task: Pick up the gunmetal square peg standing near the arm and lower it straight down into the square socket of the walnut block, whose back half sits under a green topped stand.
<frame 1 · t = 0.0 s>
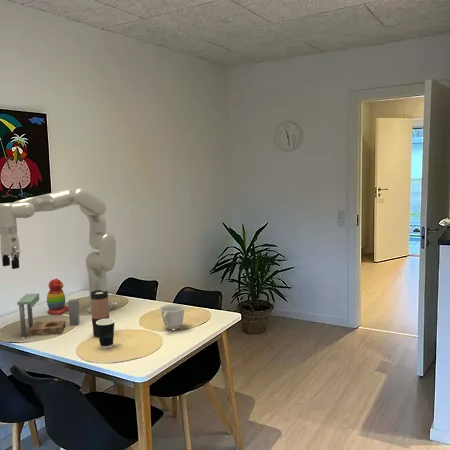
hand: (11, 267, 215), 31 cm above the table, tool pointing down, fingers open, 9 cm apart
dixie cup: (106, 346, 199), on the table
socket block: (52, 330, 220), on the table
peg: (74, 324, 229), on the table
rainbow stacking rings: (57, 312, 250), on the table
travel mug: (101, 335, 214), on the table
teacup: (172, 329, 219), on the table
green topped stand: (32, 332, 219), on the table
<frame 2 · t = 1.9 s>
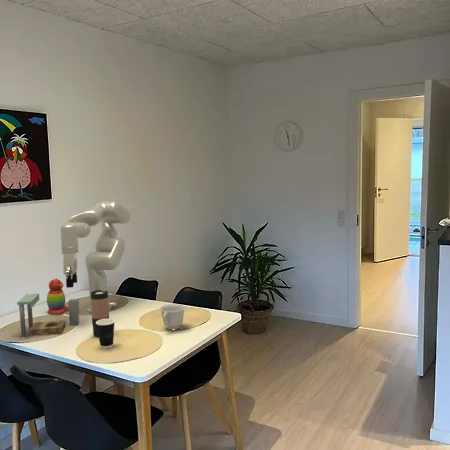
hand: (71, 284, 227), 20 cm above the table, tool pointing down, fingers open, 9 cm apart
nothing on the table moved.
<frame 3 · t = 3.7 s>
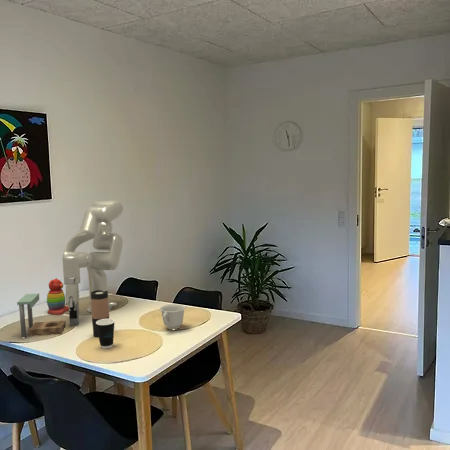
hand: (74, 316, 229), 4 cm above the table, tool pointing down, fingers closed on peg, 4 cm apart
peg: (74, 324, 229), on the table, touching gripper
everything else where it was.
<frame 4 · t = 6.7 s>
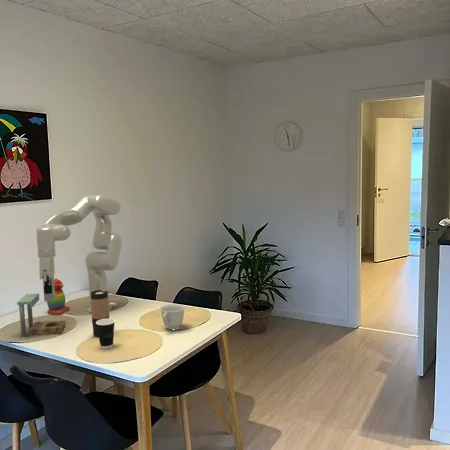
hand: (49, 291, 218), 19 cm above the table, tool pointing down, fingers closed on peg, 4 cm apart
peg: (49, 299, 218), point 15 cm above the table, touching gripper
everything else where it was.
when the fingers open (4 cm above the table, at t = 9.6 s): peg stays where it is, resting in socket block.
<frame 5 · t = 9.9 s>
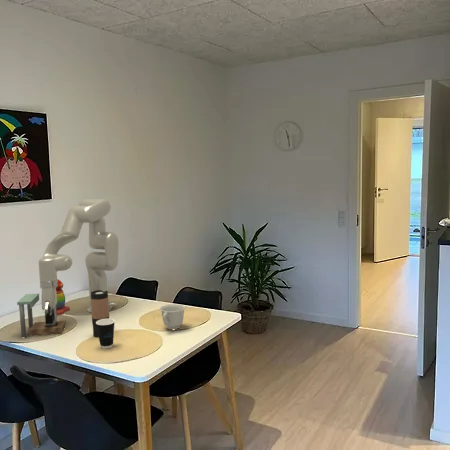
hand: (51, 320, 220), 5 cm above the table, tool pointing down, fingers open, 7 cm apart
peg: (52, 330, 220), resting in socket block
everything else where it was.
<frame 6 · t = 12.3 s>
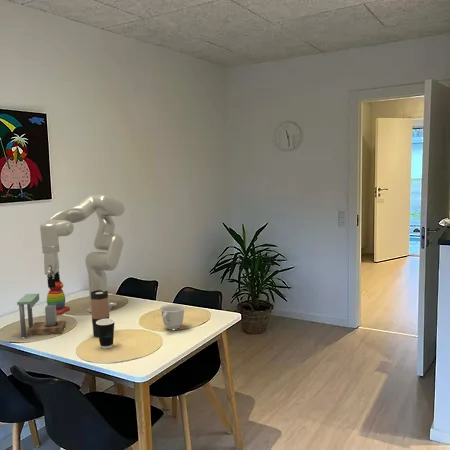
hand: (54, 284, 221), 21 cm above the table, tool pointing down, fingers open, 9 cm apart
nothing on the table moved.
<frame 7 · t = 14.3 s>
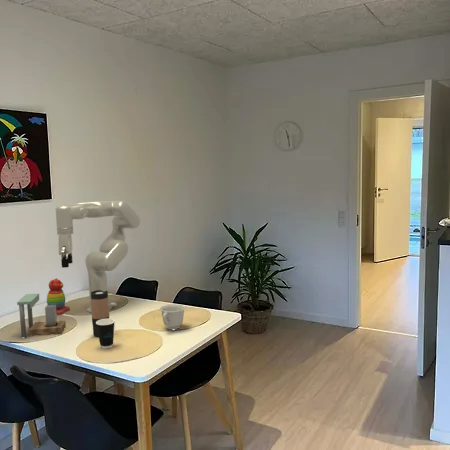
hand: (67, 265, 231), 28 cm above the table, tool pointing down, fingers open, 9 cm apart
nothing on the table moved.
at the end: peg 0.1 cm off-centre on the socket block, point 0.0 cm above the socket block's base; peg tilted 0°; the gripper is holding nothing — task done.
